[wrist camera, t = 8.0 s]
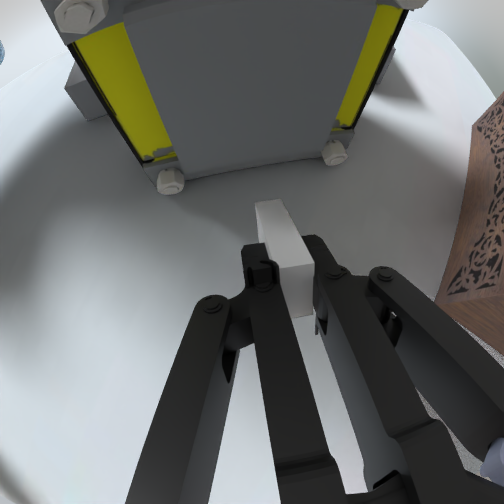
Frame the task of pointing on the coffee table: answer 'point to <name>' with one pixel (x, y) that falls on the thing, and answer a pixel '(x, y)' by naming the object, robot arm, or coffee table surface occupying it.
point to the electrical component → (230, 76)
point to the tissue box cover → (480, 237)
